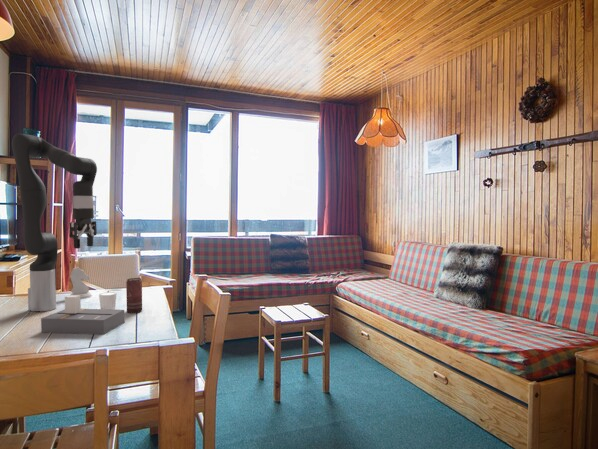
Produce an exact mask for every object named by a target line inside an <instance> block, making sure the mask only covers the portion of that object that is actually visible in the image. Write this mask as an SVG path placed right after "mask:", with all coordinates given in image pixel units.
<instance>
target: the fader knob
mask: <svg viewBox="0 0 598 449" xmlns="http://www.w3.org/2000/svg"><path fill="white" fill-rule="evenodd" d="M64 309H65V313H70V314H75V313H78V312H80V311H81V309H82V308H81V299H80V295H71V294H69V295H67V296H64Z"/></svg>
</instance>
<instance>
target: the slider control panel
mask: <svg viewBox="0 0 598 449" xmlns="http://www.w3.org/2000/svg"><path fill="white" fill-rule="evenodd" d="M124 323H125V309H115V310H114V309H101V308H81V311H80V312H78V313H75V314H70V313H65V308H64V309H62V310H60V311H59V310H58V311H57V312H54V313H52V314H49V315H47V316H44V317H41V318H40V328H41V329H40V330H41V331H40V332H41V333H45V332H51V334H79V335H80V334H84V335H85V334H86V335H87V334H88V335H105V334H106V333H109V332H110V331H112V330H115V329H116V328H117V327H120V326H121V325H123V324H124Z"/></svg>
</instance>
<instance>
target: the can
mask: <svg viewBox="0 0 598 449" xmlns="http://www.w3.org/2000/svg"><path fill="white" fill-rule="evenodd" d="M125 286H126V288H125V289H126V292H125V293H126V312H127V313H128V314H137V313H140V312H142V311H143V280H142V278H139V277H137V278H136V277H135V278H134V277H132V278H127V279H126V282H125Z"/></svg>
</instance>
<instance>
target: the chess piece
mask: <svg viewBox="0 0 598 449" xmlns="http://www.w3.org/2000/svg"><path fill="white" fill-rule="evenodd" d="M70 280H71V283H72V285H73V286H72V289H71V290H70V291H71V293H70V295H80V300H83V299H89V298H91V297H92V296H93V295H92V293H91V292H89V291H90V288H89V286H88V285H87V284H86V282H88V281H90V275H87V274H86V273H85V271H84V270H83V269H82V268H80V267H79V266H75V267H74V268H72V270H71V272H70ZM84 281H85V282H84Z"/></svg>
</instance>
